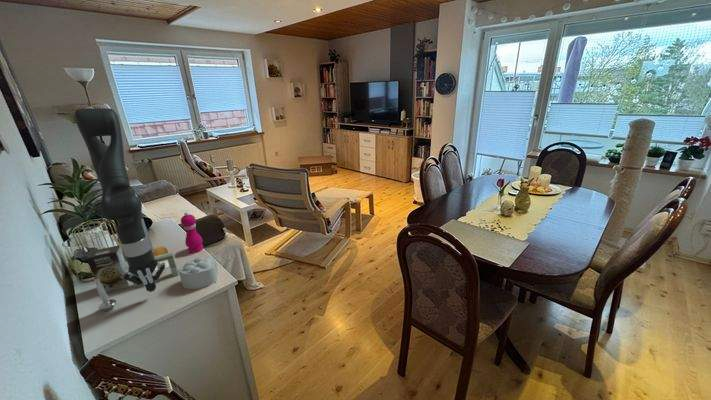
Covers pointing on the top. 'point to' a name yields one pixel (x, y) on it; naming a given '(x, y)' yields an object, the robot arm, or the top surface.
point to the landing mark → (165, 263)
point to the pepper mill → (191, 233)
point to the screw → (104, 297)
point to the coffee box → (109, 267)
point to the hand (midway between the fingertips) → (152, 290)
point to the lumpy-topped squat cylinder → (199, 273)
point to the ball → (159, 251)
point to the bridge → (170, 260)
